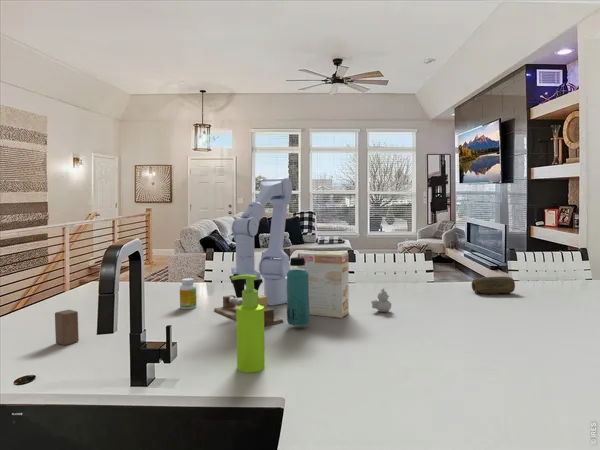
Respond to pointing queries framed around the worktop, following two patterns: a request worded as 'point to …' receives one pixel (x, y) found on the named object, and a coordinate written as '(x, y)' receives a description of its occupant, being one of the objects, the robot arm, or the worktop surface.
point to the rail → (232, 312)
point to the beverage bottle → (297, 294)
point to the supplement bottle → (187, 294)
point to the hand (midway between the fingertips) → (245, 299)
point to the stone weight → (493, 285)
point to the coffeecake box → (327, 282)
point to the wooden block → (66, 327)
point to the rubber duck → (382, 302)
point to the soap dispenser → (250, 329)
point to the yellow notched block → (262, 301)
